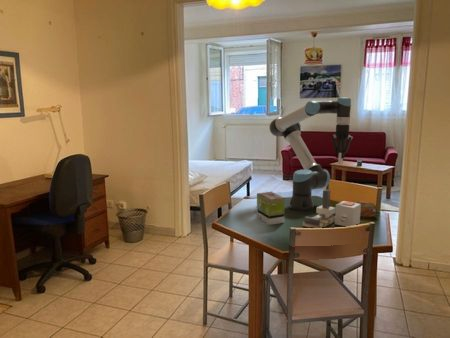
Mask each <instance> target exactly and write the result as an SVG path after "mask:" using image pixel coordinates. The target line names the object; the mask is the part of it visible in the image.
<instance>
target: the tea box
mask: <svg viewBox="0 0 450 338" xmlns="http://www.w3.org/2000/svg"><path fill="white" fill-rule="evenodd" d="M285 199H286V198H285V197H283V196H282V195H279V194H277V193H276V192H273V191H266V192H257V193H256V218H258V219H259V220H261V221H263V222H264V223H266V224H267V225H269V226H272V225H278V224H283V223H285V207H286V206H285V205H286V203H285V202H286V201H285Z"/></svg>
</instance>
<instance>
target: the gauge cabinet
mask: <svg viewBox="0 0 450 338" xmlns="http://www.w3.org/2000/svg"><path fill="white" fill-rule="evenodd" d="M344 202H348V200H347V201H346V200H342V201H340V202H338V203H336V204H335V221H334V224H335V225H336V226H337V225H338V226H341V227H342V226H343V227H346V226H350V225H356V224H358V225H359V224H360V222H361V216H360V211H361V204H358V203H355V205H353V206H347V205H342V203H344ZM349 202H350V203H353V202H354V201H353V202H352V201H349ZM356 226H357V225H356Z"/></svg>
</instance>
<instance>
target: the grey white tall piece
mask: <svg viewBox="0 0 450 338" xmlns="http://www.w3.org/2000/svg"><path fill="white" fill-rule="evenodd" d="M335 210H336V206H335V207H333V206H331V189H324V190H322V204H321V205H319V206H317V207H316V212H315V213H316V214H319V215H321V214H324V215H325V218H328V217H330V216H332V214H334V213H335Z"/></svg>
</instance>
